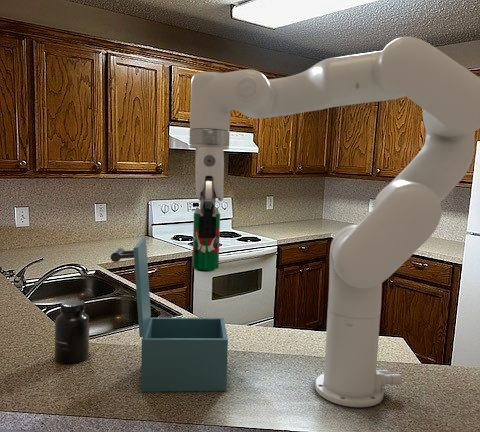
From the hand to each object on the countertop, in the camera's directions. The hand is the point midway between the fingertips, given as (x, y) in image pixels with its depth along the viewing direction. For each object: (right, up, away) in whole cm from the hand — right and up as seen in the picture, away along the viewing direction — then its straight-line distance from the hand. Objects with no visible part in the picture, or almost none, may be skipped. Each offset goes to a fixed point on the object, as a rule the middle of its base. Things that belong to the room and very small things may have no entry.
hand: (206, 234), depth 87 cm
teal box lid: (-12, -9, 0) cm, 15 cm away
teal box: (-5, -28, +2) cm, 28 cm away
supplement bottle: (-29, -27, +9) cm, 41 cm away
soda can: (0, -7, +1) cm, 7 cm away
